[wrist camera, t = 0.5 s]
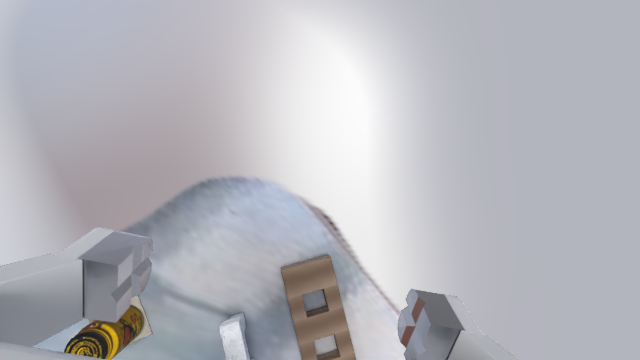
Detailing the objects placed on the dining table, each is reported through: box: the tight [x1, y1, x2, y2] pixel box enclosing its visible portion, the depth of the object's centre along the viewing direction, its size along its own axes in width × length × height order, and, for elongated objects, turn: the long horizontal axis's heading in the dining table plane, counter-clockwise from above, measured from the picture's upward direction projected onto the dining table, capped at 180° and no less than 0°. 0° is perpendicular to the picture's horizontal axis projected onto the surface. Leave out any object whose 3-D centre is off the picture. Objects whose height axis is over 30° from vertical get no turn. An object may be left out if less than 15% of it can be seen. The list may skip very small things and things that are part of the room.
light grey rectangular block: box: [219, 312, 254, 360], centre depth 52 cm, size 12×3×8 cm, turn 14°
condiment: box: [64, 296, 152, 360], centre depth 48 cm, size 7×8×12 cm
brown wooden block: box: [281, 255, 356, 360], centre depth 56 cm, size 22×9×3 cm, turn 14°
